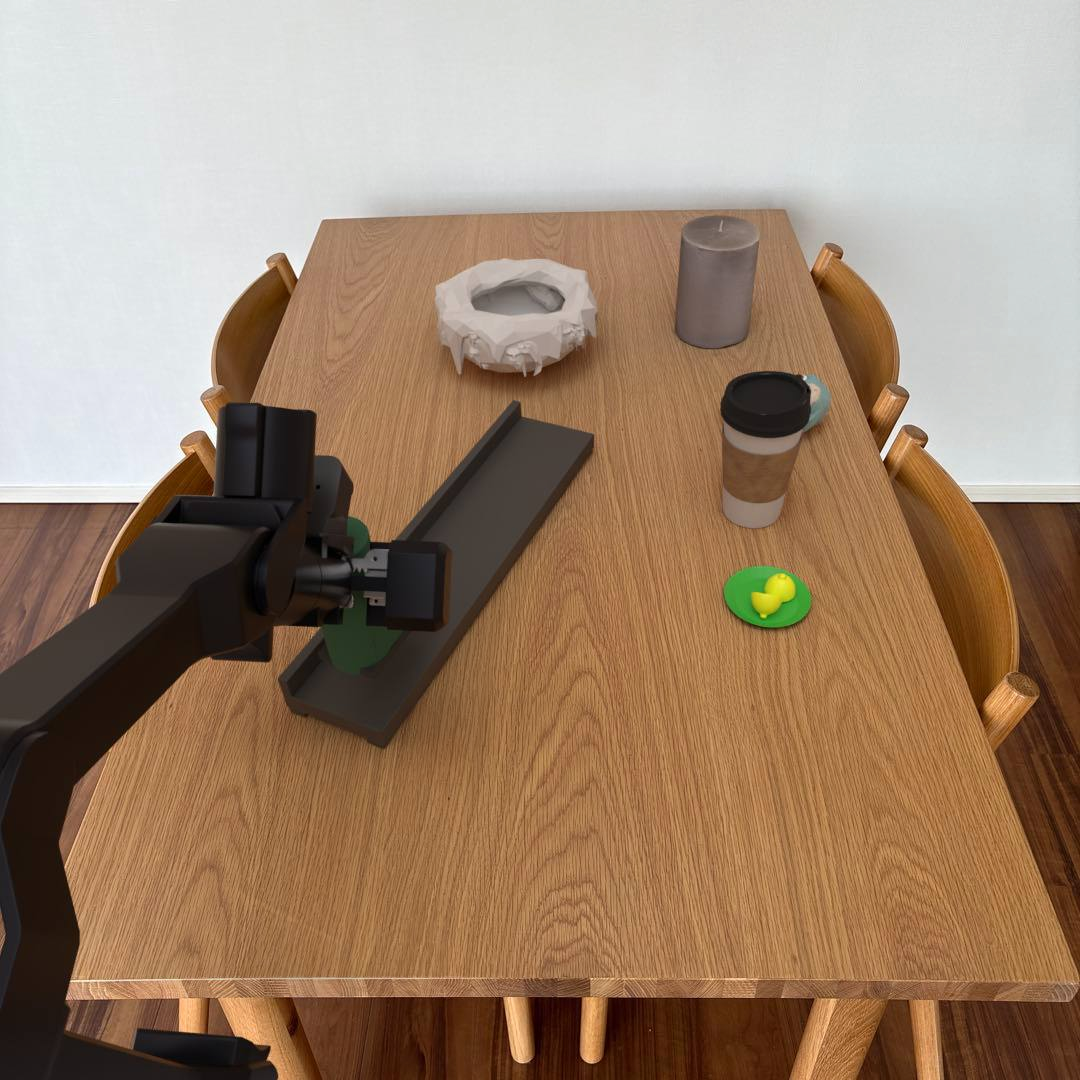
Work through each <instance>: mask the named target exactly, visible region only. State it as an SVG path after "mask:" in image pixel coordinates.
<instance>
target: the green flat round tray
mask: <svg viewBox="0 0 1080 1080" xmlns="http://www.w3.org/2000/svg"><path fill="white" fill-rule="evenodd" d="M723 595H724V600H725V602H726V604H727V606H728V608H729V609H730V610H731V611H732V613H733V614H735V615H736V616H737V617H738V618H740V619H742V620H743V621H744V622H747V623H749V624H752V625H756V626H759V627H762V628H763V627H765V628H782V627H788V626H791V625H793V624H796V623H798V622H800V621H801V620H802V619H804V617H806V616H807V614H808V612H810V609H811V606H812V596H811V592H810V590H809V588H808V586H807V585H806V583H804V582H803V580H802V579H800V578H799V577H798V576H797V575H795V574H793V573H791V572H789V571H787V570H786V569H783V568H779V567H775V566H767V565H754V566H750V567H745V568H743V569H741V570H739V571H737V572H735V573H733V575H732V576H730V577H729V579H728V580H727V581H726V584H725V586H724V593H723Z"/></svg>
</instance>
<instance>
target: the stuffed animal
mask: <svg viewBox="0 0 1080 1080" xmlns="http://www.w3.org/2000/svg"><path fill="white" fill-rule="evenodd" d="M785 372H786V373H790V372H789V371H785ZM794 375H797V376H798V377H800V378H802V379H803V380H804V381H805V382H806V383H807V384H808V386H809V387H810V389H811V399H810V405H811V414H810V419H809V421H808V424H807V425H806V426H805V427H804V428H803V429H802V432H803V434H804V433H805V432H808V430H810V429H811V428H812V427H814V426H818V425H820V424H821V423H822V422H823V421H824V420H825V419H826V418H827V416H828V413H829V412H830V410H831V405H832V395H831V392H830V390H829V388H828V387H827V386H826V385H825V384H824V382H823V381H822V380H821V379H820V378H819V377H818V376H817V375H815V374H814V373H809V374H805V373H796V374H795V373H794Z"/></svg>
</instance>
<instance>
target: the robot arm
mask: <svg viewBox="0 0 1080 1080" xmlns="http://www.w3.org/2000/svg"><path fill="white" fill-rule="evenodd" d="M317 419H318V413H317V412H316V411H313V410H311V409H303V408H301V409H300V408H299V409H298V408H295V409H294V408H286V407H282V406H281V407H279V406H271V405H265V404H262V403H260V402H246V401H245V402H243V401H242V402H241V401H240V402H239V401H227V402H226V403H225V406H221V407H218V409H217V420H216V422H217V423H216V439H215V441H216V442H215V443H216V444H215V458H214V459H215V460H214V474H213V475H214V476H213V478H214V479H213V493H212V494H213V495H197V494H192V495H191V494H190V495H189V494H174V495H173V497H172V498H171V499H170V500H169V502H167V505H165V506H164V508H163V509H162V511H160V513H159V514H158V515H154V516H153V518H152V519H151V522H150V523H149V525H148V526H147V527H146V528H145V529H144V530H143V531H142V532H141V533H140V534H139V535H138V536H137V537H136V538H135V540H133V542H132V543H130V544H129V545H128V547H127V548H126V549H125V550H124V551H123V552H122V553H121V554H120V555H119V556H118V557H117V558H116V560H115V561H114V566H115V567H114V568H115V577H116V585H115V586H114V587H113V588H112V589H111V590H110V591H109V593H107V594H106V595H105V596H104V597H103V598H101V599H100V600H98V601H97V602H96V603H94V604H93V605H92V606H91V607H89V608H87V609H86V610H85V611H84V612H82V613H80V614H79V615H78V616H77V617H76V618H74V619H73V620H71V621H70V622H68V623H66V625H65V626H63V627H61V628H60V629H59V630H58V631H56V632H55V633H54V634H51V636H50V637H48V638H47V639H45V640H44V641H43V642H41V643H40V644H39V645H37V646H36V647H35V648H33V649H32V650H30V651H29V652H28V653H26V654H25V655H24V656H23V657H21V658H19V659H18V660H17V661H16V662H14V663H13V664H11V665H10V666H9V667H7V668H6V669H5V670H4V671H3V670H2V672H1V673H0V914H1V918H2V923H3V928H4V940H3V943H2V947H1V951H0V1080H279V1073H278V1069H277V1067H276V1066H275V1064H274V1063H273V1062H272V1061H271V1060H269V1056H270V1053H271V1050H272V1046H271V1045H269V1044H257V1043H254V1042H253V1041H252V1040H250V1039H248V1038H245V1037H243V1036H237V1035H236V1036H235V1035H225V1034H214V1033H213V1034H212V1033H204V1032H203V1033H202V1032H191V1031H179V1030H168V1029H156V1028H155V1029H154V1028H144V1027H136V1029H135V1031H134V1037H133V1040H132V1045H131V1049H130V1048H128V1047H125V1046H121V1045H118V1044H115V1043H110V1042H108V1041H105V1040H101V1039H97V1038H94V1037H90V1036H88V1035H84V1034H81V1033H77V1032H75V1031H70V1030H68V1029H66V1027H67V1023H68V1021H69V1019H70V1018H69V1017H70V1015H71V1011H72V1008H71V1006H70V1004H69V1002H68V1001H67V996H68V992H69V988H70V984H71V981H72V976H73V972H74V968H75V964H76V960H77V958H78V953H79V949H80V946H81V931H80V925H79V922H78V917H77V914H76V909H75V905H74V901H73V897H72V892H71V890H70V889H71V888H70V884H69V880H68V876H67V873H66V872H67V871H66V868H65V864H64V860H63V856H62V851H61V847H60V840H61V836H62V833H63V829H64V825H65V822H66V818H67V815H68V810H69V807H70V803H71V800H72V796H73V792H74V787H75V786H76V785H77V784H78V783H79V782H80V781H81V780H82V779H83V778H84V777H85V775H86V774H88V772H90V770H92V768H93V767H94V766H95V765H96V764H97V763H98V762H99V761H100V760H101V759H103V757H104V756H105V755H106V754H107V753H108V752H109V751H110V750H111V749H112V748H113V747H114V746H115V745H116V744H117V743H118V742H119V741H120V740H121V739H122V737H123V736H124V735H126V733H127V732H128V731H129V730H130V729H131V728H132V727H133V726H134V725H135V724H136V723H137V722H138V721H139V720H140V719H141V718H142V717H143V716H144V715H145V714H146V713H147V712H148V711H149V710H150V709H151V708H152V707H153V706H154V704H156V703H157V702H158V700H159V699H160V698H161V697H163V695H164V694H165V693H166V692H167V691H168V690H169V689H170V688H171V687H172V686H173V685H174V684H175V683H176V682H177V681H178V680H179V679H180V678H181V677H182V676H183V675H184V674H185V673H186V671H188V670H189V669H190V668H191V667H192V666H194V665H196V664H197V663H198V662H200V661H202V660H205V659H208V658H210V659H211V660H213V661H222V662H223V661H224V662H225V661H226V662H245V663H246V662H247V663H265V664H267V663H270V662H271V661H272V659H273V649H274V632H275V631H274V630H275V629H274V628H275V627H276V628H277V627H301V628H302V627H305V628H321V627H323V624H329V625H342V624H343V610H344V608H353V607H354V603H355V597H354V594H351V591H352V590H354V591H364V596H363V597H367V610H366V626H380V627H387V630H403V631H424V632H438V631H441V630H442V629H443V628H444V627H445V626H446V625H447V624H449V608H450V587H451V566H452V550H451V549H450V548H449V547H448V546H447V545H446V544H445V543H442V542H433V541H407V540H395V539H392V540H391V541H388V542H387V541H371V542H370V551H369V552H368V553H367V554H366V556H365V557H364V558H346V556H353V552H354V537H350V536H347V520H348V516H349V513H350V507H351V503H352V502H351V501H352V496H353V494H354V488H355V486H354V482H353V481H352V479H351V477H350V475H349V473H348V471H347V470H346V468H345V467H344V465H343V463H342V461H341V460H340V459H339V458H338V457H336V456H334V455H325V454H324V455H322V454H321V455H319V454H317V455H316V437H317ZM351 569H352V571H353V572H356V570H358V572H359V573H361V572H362V569H363V571H364V573H365V576H352V571H351ZM368 569H369V570H368Z"/></svg>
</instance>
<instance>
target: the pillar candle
mask: <svg viewBox="0 0 1080 1080" xmlns="http://www.w3.org/2000/svg"><path fill="white" fill-rule="evenodd" d="M680 232H681V233H680V246H679V247H680V248H679V258H678V259H679V261H678V275H677V288H676V289H677V290H676V302H675V303H676V304H675V318H674V332H675V335H677V336H678V338H679V339H680V340H681V341H683V342H685V343H687V344H689V345H691V346H695V347H699V348H704V349H713V350H715V349H722V348H724V347H728V346H732V345H736V344H739V343H741V342H742V341H744V340H745V339H746V337H747V336H748V334H749V330H750V323H751V317H752V308H753V306H752V304H753V299H754V289H755V278H756V272H757V265H758V257H759V256H758V255H759V247H760V239H761V231H760V229H759V227H758V226H757V225H756V224H755V223H754V222H752V221H749V220H747V219H746V218H741V217H738V216H737V217H736V216H731V215H723V214H722V215H721V214H720V215H718V214H713V215H706V216H701V217H697V218H694V219H691V220H689V221H688V222H686V223H685V224H684V225H683V226H682V227H681V231H680Z"/></svg>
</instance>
